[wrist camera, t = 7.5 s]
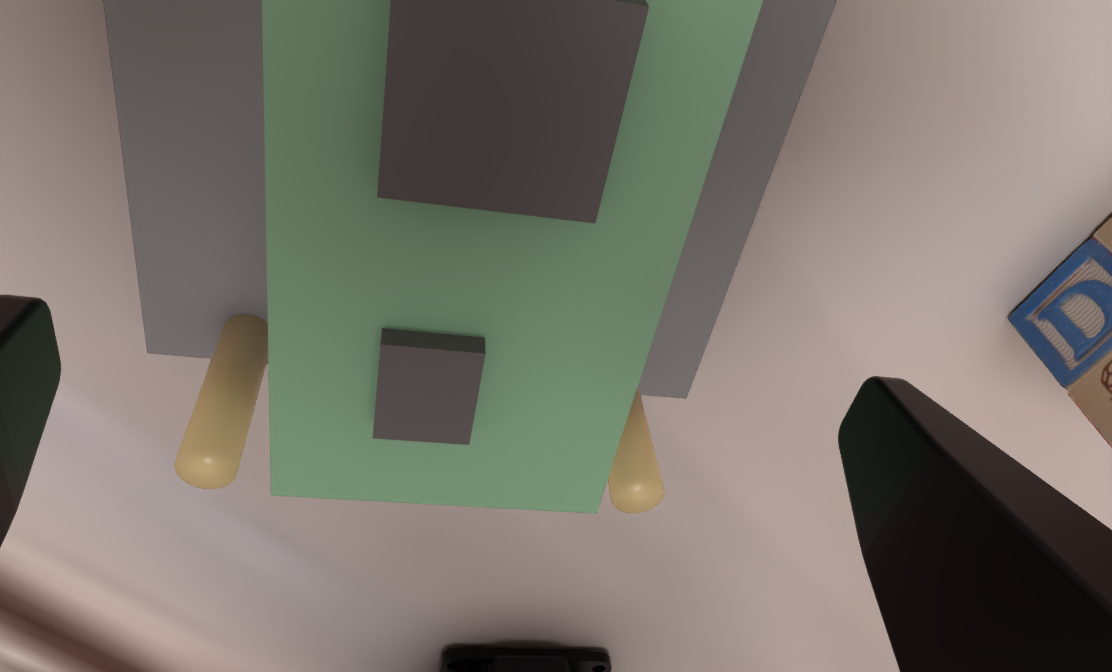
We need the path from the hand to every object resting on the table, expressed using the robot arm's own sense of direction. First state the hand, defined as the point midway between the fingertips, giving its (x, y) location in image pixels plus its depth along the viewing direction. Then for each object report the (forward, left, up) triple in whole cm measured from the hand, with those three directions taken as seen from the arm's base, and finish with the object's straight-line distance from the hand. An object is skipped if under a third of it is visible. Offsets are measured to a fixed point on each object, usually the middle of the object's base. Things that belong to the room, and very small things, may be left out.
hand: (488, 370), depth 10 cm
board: (0, 0, -7) cm, 7 cm away
